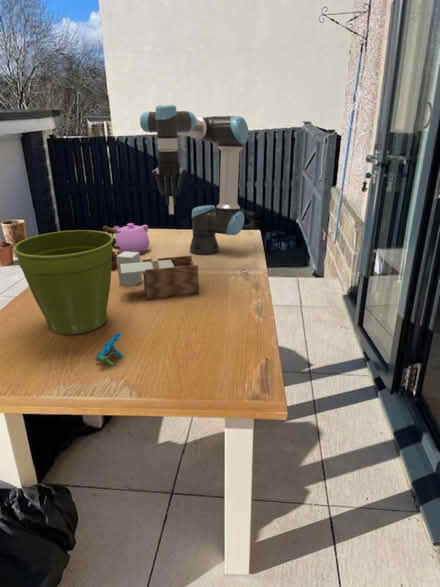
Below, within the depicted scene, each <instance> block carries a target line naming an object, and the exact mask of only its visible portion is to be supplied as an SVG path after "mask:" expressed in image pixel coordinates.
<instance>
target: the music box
mask: <svg viewBox="0 0 440 587" xmlns="http://www.w3.org/2000/svg"><path fill="white" fill-rule="evenodd" d="M102 229H103V232H105V233H108V234H111V235H112V236H113V242H112V267H111V272H113V271H118V268H117V259H116V256H118V255H119V254H120V251H119V250H118V249H120V246H115V244H116V240H117V238H116V236H117V235H116V233H120V231H117V230H115V228H114V227H113V228H112V227H110V226H109V227H108V225H103V227H102ZM114 235H115V237H114ZM115 239H116V240H115ZM113 249H114V250H113ZM115 250H117V252H116V251H115Z"/></svg>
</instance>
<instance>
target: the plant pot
mask: <svg viewBox="0 0 440 587" xmlns="http://www.w3.org/2000/svg"><path fill="white" fill-rule="evenodd" d="M113 237H114V235H113V236H112V234H109V233H107V232H106V231H105V232H104V231H102V230H101V231H100V230H99V231H98V230H92V229H91V230H87V229H83V230H81V229H77V230H76V229H75V230H74V229H73V230H61V231H60V230H59V231H54V232H48V233H42V234H39V235H38V234H37V235H35V236H31V237H27V238H25V239H23V240H21V241H18V242H17V243H15V244H14V246H13V247H12V249H13V250H12V251H13V252H14V254H15V255H16V257H17V260H18V264H19V267H20V269H21V270H22V272H23V275H24V277H25V280H26V282H27V285H28V287H29V289H30V291H31V293H32V296H33V298H34V300H35V302H36V303H37V306H38V308H39V310H40V311H41V314H42V315H43V316H44V318H45V320H46V323H47V326H48V327H47V328H48V329H49V330H50V331H51V332H52V333H54V334H58V335H65V336H67V335H69V336H70V335H71V336H73V335H81V334H84V333H89V332H92V331H94V330H96V329H98V328H100V327H101V326H103V325H104V324H105V322H106V321H107V319H108V312H107V311H108V310H107V309H108V305H109V297H110V291H111V283H112V282H111V279H112V271H111V267H112V248H113V247H112V242H113Z"/></svg>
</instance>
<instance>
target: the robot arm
mask: <svg viewBox="0 0 440 587" xmlns="http://www.w3.org/2000/svg"><path fill="white" fill-rule="evenodd" d="M139 125H140V128H141V129H142V130H143V131H144V132H145V133H156V138H157V140H156V141H157V150H158V152H157V155H158V164H157V167H156V168H155V169H153V170H152V171H151V172H152V174H153V176H154V177H155V181H156V184H157V187H158V190H159V193H160V195H161V196H162V197H165V204H166V206H168V214H169V215H175V209H174V206H176V205H177V197H178V196H180V195H181V192H182V188H183V182H184V176H185V175H186V172H187V170H186V169H185V168H182V167H181V164H180V160H179V156H180V155H179V150H178V149H179V138H178V136H185V137H186V136H187V137H191V138H193V139H194V140H199V141H202V142H208V143H211V144H212V143H213V144H217V148H218V149H219V151H220V174H219V175H220V176H219V177H220V178H219V181H220V182H219V203H218V204H217V205H216V207H215V205H213V204H209V205H208V204H207V205H202V206H201V205H199V206H196V207H194V208H192V210H191V223H192V225H191V226H192V238H191V243H190V244H189V252H190V253H191V254H193V255H197V256H198V255H199V256H207V255H214V254H216V253H218V252H219V251H220V245H219V243H218V240H217V237H216V234H221V235H226V236H237V235H238V234H239V233H241V231H242V229H243V227H244V224H245V213H243V212H242V211H241V206H240V205H239V204H238V194H239V193H238V192H239V188H238V187H239V171H240V169H239V166H240V151H241V150H242V149H244V144H246V143H247V142H248V139H249V127H248V123H247V121H246V120H245V118H243V117H242V116H237V115H223V116H214V115H213V116H206V117H200V116H197V117H196V116H195V114H194V113H193V112H191V111H187V110H180V111H179V110H178V111H177V107H176V105H174V104H159V105H156V107H155V111H145V112H143V113H142V114H141V116H140V118H139ZM178 172H179V175H178V181H177V187H176V175H177V174H178ZM160 173H161V174H162V176H163V179H164V181H163V182H164V188H163V184H162V181H161V178H160V176H159V174H160ZM169 177H170V182H169ZM169 185H171V195H170V186H169Z"/></svg>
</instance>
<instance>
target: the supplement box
mask: <svg viewBox="0 0 440 587" xmlns="http://www.w3.org/2000/svg"><path fill="white" fill-rule="evenodd" d="M140 254H141V252H127V251H124V252H123V253H119V255H118V256H116V259H117V268H118V270H117V276H118V281H119V282H118V283H119V286H128V287H129V286H131V287H135V286H137V285H138V284H140V283H141V282H143V274H134V275H123V276H122V275H121V268H120V264H127V263H138V262H142V261H141V255H140Z"/></svg>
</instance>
